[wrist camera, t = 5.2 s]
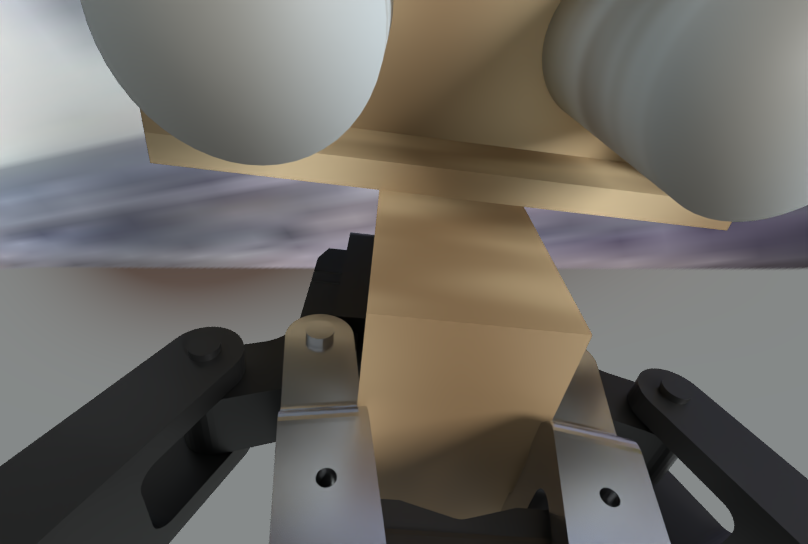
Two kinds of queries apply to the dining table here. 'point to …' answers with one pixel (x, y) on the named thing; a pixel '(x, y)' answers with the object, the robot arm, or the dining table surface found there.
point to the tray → (476, 172)
